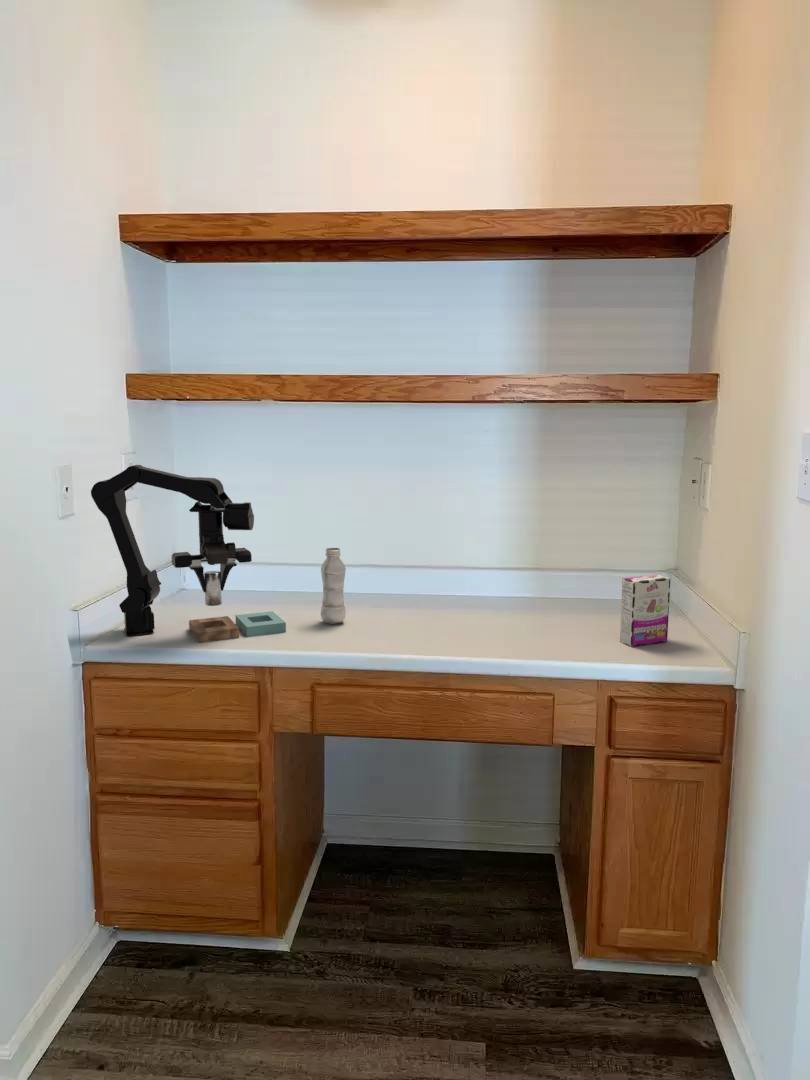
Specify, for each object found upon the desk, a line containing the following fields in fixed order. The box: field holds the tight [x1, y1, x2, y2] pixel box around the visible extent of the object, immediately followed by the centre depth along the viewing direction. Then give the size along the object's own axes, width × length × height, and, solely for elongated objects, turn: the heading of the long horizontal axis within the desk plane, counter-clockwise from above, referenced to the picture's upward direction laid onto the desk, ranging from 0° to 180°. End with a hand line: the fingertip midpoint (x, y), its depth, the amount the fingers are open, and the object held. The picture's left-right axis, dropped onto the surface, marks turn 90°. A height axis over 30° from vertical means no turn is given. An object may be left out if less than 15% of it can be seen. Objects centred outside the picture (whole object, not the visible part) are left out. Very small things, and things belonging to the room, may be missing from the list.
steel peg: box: [203, 570, 223, 607], centre depth 197 cm, size 4×4×8 cm
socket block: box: [188, 615, 240, 644], centre depth 199 cm, size 10×12×2 cm
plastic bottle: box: [320, 547, 347, 624], centre depth 208 cm, size 6×7×20 cm
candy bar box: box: [619, 574, 671, 647], centre depth 194 cm, size 11×5×16 cm, turn 112°
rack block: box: [235, 611, 287, 638], centre depth 204 cm, size 10×12×2 cm
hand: (213, 591), depth 197 cm, fingers closed on steel peg, 4 cm apart
